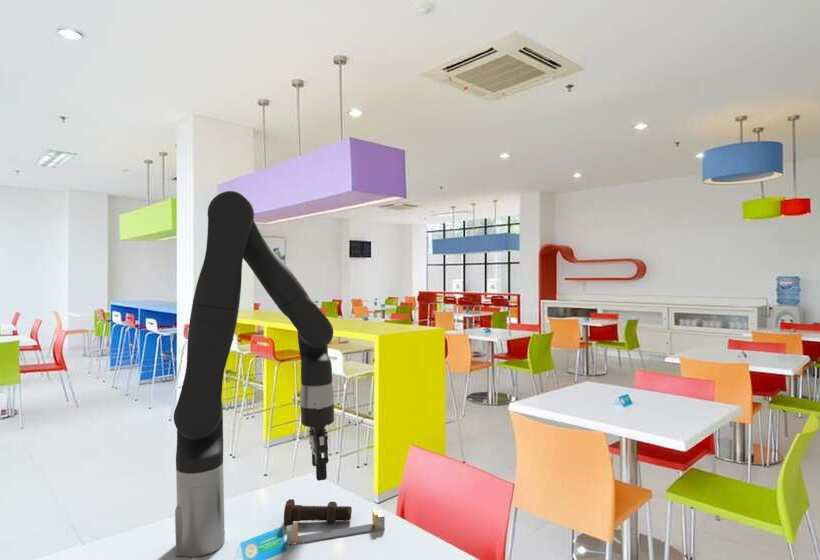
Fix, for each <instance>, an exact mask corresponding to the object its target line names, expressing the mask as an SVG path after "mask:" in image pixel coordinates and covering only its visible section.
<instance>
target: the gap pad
mask: <svg viewBox="0 0 820 560" xmlns="http://www.w3.org/2000/svg"><path fill="white" fill-rule="evenodd" d="M372 532H376V531H375V529H374V527H373V523H370V524H369V523H368V524H362V525H356V526H351V527H350V526H349V527H345V528H344V527H343V528H338V529H332V530H326V531H321V532H314V533H307V534H302V535H298V542H299V543H302V544H304V543H303V542H308V543H313V541H314V542H319V541H324V540H331V539H336V538H343V537H347V536H354V535H360V534H366V533H372ZM299 543H298V544H299Z"/></svg>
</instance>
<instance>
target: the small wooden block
mask: <svg viewBox="0 0 820 560" xmlns="http://www.w3.org/2000/svg"><path fill="white" fill-rule="evenodd" d="M371 512H372V513H371V514H372V525H373V527H374V529H375V531H374V532H376V531H377V532H378V531H381V530H382V531H383V530H386V527H385V519H386V518H385V515H384V513H383V510H379V511H377V509H372V511H371Z"/></svg>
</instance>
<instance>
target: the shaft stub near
mask: <svg viewBox="0 0 820 560" xmlns="http://www.w3.org/2000/svg"><path fill="white" fill-rule="evenodd" d="M298 536H299V525H298V521H293V523H292V525H288V526H286V543H287V544H288V545H287V546H290V545H289V544H294V543H298ZM298 544H299V543H298ZM294 545H295V544H294Z"/></svg>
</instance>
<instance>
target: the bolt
mask: <svg viewBox="0 0 820 560" xmlns="http://www.w3.org/2000/svg"><path fill="white" fill-rule="evenodd" d="M283 510H284V511H283V524H284V526H285V527H287V526H288V525H293V522H301V521H304V522H305V521H306V522H307V521H311V522H312V521H314V522H315V521H319V522H323V521H325V522H326V524H327V525H328V526H334V525H335V524H336V522H347V521H348V522H349V521H351V519H352V512H353V511H352V510H353V508H352V506H350V505H348V506H347V505H346V506H345V505H344V506H343V505H342V506H341V505H340V506H339V505H338V504H337V502H336V501H329V502H328V503H327V505H300V504H296V503H295V499H293V498H291V499H288V500H287V501H286V503H285V505H284V509H283Z"/></svg>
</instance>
